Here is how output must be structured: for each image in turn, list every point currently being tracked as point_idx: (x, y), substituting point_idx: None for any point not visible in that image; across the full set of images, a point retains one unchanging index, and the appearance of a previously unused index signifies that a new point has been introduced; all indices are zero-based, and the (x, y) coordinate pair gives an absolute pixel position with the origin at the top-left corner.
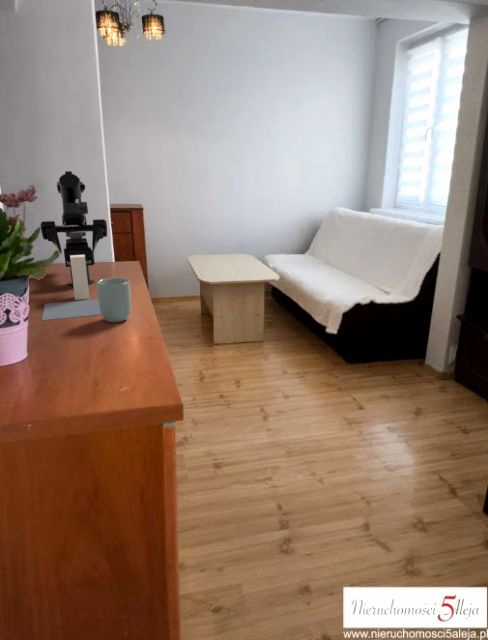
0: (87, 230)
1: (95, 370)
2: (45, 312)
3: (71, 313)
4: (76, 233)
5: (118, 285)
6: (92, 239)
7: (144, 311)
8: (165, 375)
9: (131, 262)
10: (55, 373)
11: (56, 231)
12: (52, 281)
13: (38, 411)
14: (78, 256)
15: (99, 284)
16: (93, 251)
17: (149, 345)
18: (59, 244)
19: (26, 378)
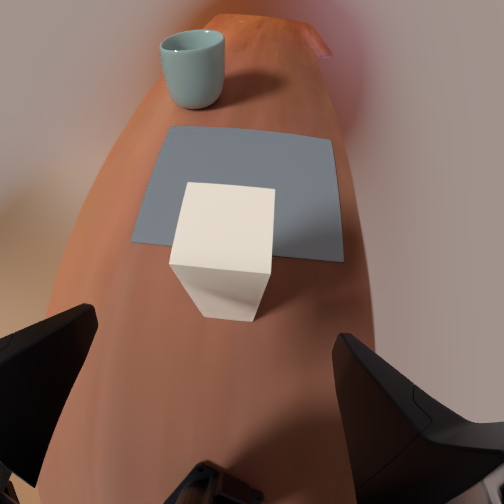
0: (13, 500)
1: (257, 33)
2: (332, 181)
3: (273, 152)
4: None
5: (192, 32)
6: (32, 341)
7: (134, 124)
8: (209, 23)
9: None
10: (289, 38)
11: (465, 444)
12: None
13: (295, 22)
14: (221, 207)
15: (222, 34)
16: (94, 321)
17: None
18: (369, 366)
19: (310, 40)
